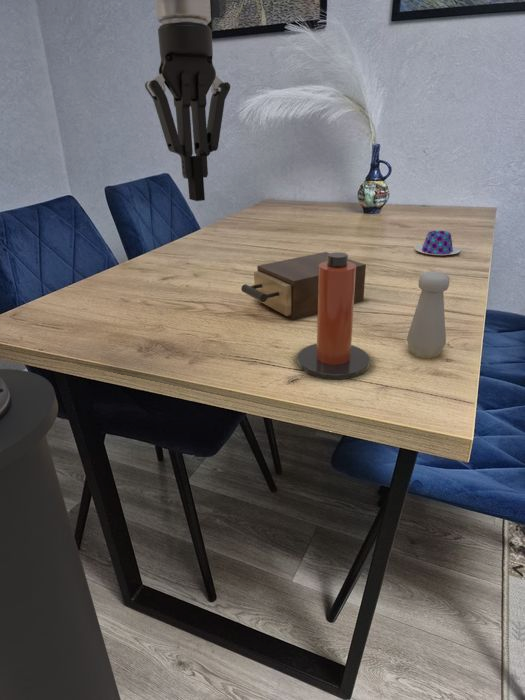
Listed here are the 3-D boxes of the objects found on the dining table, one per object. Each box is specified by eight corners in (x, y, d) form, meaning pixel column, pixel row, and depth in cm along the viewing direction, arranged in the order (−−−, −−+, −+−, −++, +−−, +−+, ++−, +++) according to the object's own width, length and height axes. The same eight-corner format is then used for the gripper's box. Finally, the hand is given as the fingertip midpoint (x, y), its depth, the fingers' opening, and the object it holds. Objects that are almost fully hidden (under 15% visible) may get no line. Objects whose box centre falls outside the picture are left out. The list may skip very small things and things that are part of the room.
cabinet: (293, 320, 88) (293, 281, 85) (258, 301, 98) (257, 265, 95) (363, 300, 96) (366, 264, 93) (324, 285, 106) (325, 251, 103)
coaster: (285, 370, 71) (285, 365, 70) (313, 341, 79) (313, 337, 79) (356, 386, 66) (356, 381, 66) (377, 354, 75) (378, 349, 74)
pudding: (462, 258, 122) (466, 238, 120) (414, 256, 125) (417, 236, 123) (457, 247, 133) (460, 228, 130) (413, 245, 136) (415, 227, 133)
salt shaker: (440, 345, 77) (452, 268, 71) (447, 362, 72) (460, 279, 66) (403, 344, 78) (412, 267, 72) (407, 359, 73) (417, 278, 67)
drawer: (267, 321, 86) (266, 291, 83) (236, 303, 95) (234, 275, 92) (353, 298, 95) (355, 270, 93) (318, 283, 104) (319, 258, 102)
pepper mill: (311, 361, 72) (313, 257, 64) (323, 347, 76) (326, 248, 69) (343, 367, 69) (349, 261, 62) (354, 353, 73) (361, 252, 66)
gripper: (213, 32, 72) (221, 193, 82) (130, 25, 66) (150, 200, 76) (238, 24, 66) (243, 198, 77) (149, 15, 60) (168, 206, 70)
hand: (197, 199), depth 76 cm, fingers closed
